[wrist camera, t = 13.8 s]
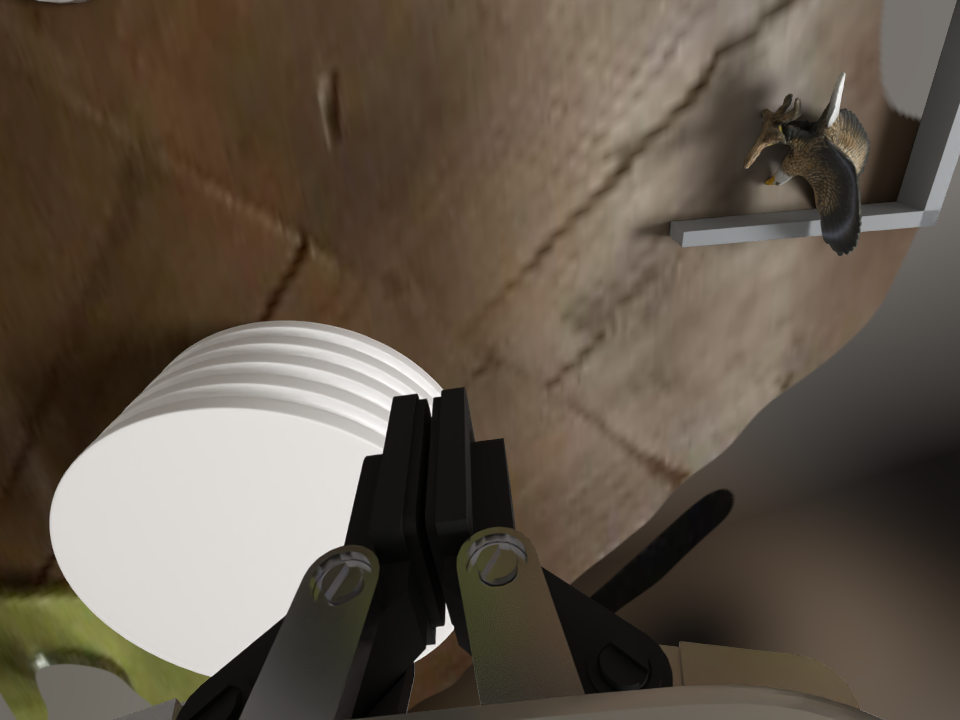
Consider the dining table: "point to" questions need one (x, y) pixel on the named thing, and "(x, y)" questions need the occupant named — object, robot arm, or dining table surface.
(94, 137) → the dining table surface
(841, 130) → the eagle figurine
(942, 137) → the gray frame
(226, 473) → the plate stack
